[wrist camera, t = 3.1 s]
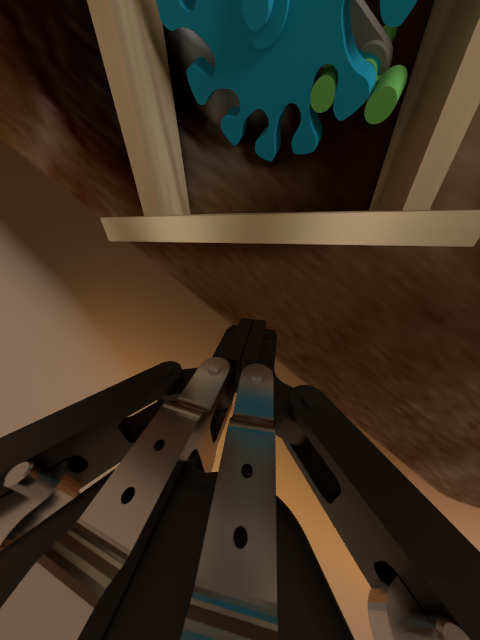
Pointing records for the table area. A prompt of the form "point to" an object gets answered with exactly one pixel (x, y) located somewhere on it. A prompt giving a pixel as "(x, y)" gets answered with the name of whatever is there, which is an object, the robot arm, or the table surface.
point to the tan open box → (297, 227)
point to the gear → (293, 61)
